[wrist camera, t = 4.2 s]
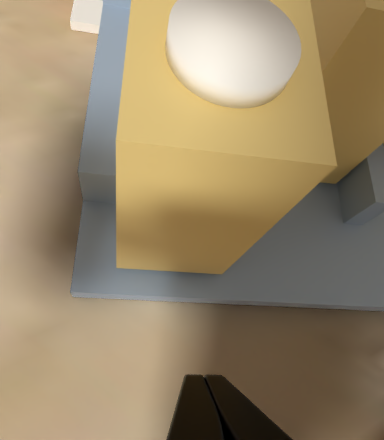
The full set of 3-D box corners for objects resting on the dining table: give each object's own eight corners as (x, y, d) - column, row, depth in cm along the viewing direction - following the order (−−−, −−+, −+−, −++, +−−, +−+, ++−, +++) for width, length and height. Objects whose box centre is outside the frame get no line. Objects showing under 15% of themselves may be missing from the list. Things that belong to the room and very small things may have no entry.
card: (240, 57, 22) (245, 46, 22) (71, 29, 21) (69, 17, 20) (237, -10, 25) (241, -21, 24) (84, -40, 23) (83, -53, 22)
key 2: (221, 274, 16) (354, 149, 7) (116, 268, 15) (115, 119, 6) (219, 171, 18) (321, -28, 9) (126, 161, 17) (136, -67, 8)
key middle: (335, 184, 19) (528, 16, 10) (251, 174, 18) (381, -15, 9) (323, 104, 20) (476, -95, 12) (247, 93, 20) (350, -128, 11)
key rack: (477, 315, 19) (592, 297, 14) (72, 296, 15) (54, 264, 11) (415, 96, 24) (485, 32, 20) (106, 48, 21) (104, -43, 16)
